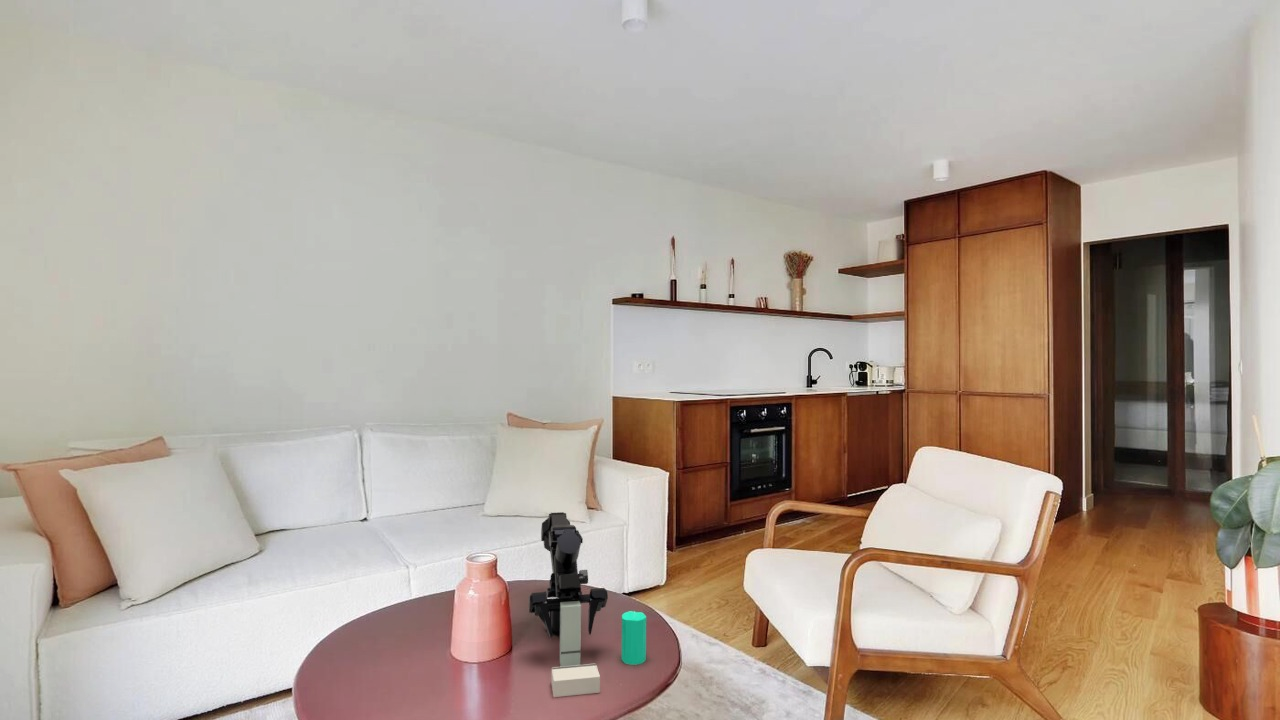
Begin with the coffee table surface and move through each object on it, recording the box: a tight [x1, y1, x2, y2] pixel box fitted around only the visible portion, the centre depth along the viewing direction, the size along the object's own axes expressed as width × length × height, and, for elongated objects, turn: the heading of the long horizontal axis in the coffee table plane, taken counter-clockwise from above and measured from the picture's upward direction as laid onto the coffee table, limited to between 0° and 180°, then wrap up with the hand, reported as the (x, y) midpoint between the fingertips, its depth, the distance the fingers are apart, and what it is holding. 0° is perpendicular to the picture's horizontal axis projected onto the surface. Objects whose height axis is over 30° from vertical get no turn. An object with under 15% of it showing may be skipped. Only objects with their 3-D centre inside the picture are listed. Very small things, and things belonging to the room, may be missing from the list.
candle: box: [621, 609, 647, 666], centre depth 156 cm, size 6×6×12 cm
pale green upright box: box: [559, 601, 582, 667], centre depth 153 cm, size 3×5×14 cm, turn 103°
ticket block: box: [550, 663, 601, 698], centre depth 143 cm, size 6×10×4 cm, turn 102°
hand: (570, 635), depth 152 cm, fingers open, 9 cm apart
